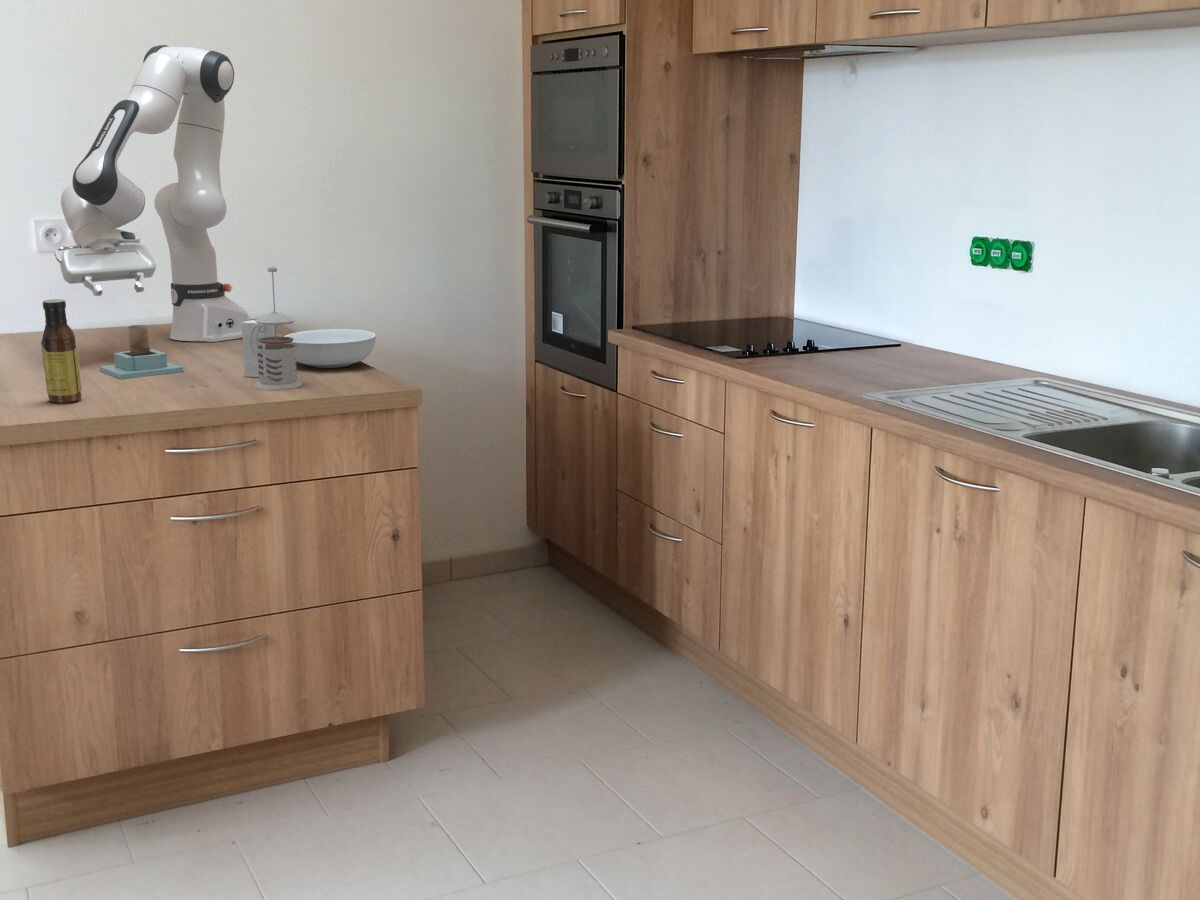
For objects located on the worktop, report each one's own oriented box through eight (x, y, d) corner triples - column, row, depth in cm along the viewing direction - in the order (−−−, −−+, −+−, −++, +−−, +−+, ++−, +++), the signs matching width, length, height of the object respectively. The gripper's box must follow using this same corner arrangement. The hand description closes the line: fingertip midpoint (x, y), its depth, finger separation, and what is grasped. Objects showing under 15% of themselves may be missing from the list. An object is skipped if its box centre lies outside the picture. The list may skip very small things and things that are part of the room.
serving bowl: (333, 353, 297) (332, 325, 295) (395, 363, 285) (394, 334, 283) (264, 365, 280) (263, 336, 279) (328, 376, 269) (326, 345, 267)
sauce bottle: (63, 396, 244) (53, 297, 240) (89, 398, 243) (80, 298, 238) (39, 403, 238) (29, 301, 233) (66, 405, 237) (57, 302, 232)
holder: (160, 363, 280) (159, 346, 279) (183, 371, 272) (182, 353, 271) (99, 370, 271) (97, 353, 270) (120, 379, 262) (119, 360, 261)
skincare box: (278, 375, 269) (276, 321, 266) (267, 378, 265) (264, 323, 262) (255, 373, 271) (252, 319, 268) (243, 376, 267) (240, 322, 264)
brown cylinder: (146, 364, 274) (143, 324, 272) (153, 367, 271) (150, 326, 269) (128, 366, 271) (125, 326, 269) (136, 369, 268) (132, 328, 266)
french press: (277, 391, 253) (271, 269, 246) (238, 384, 259) (231, 265, 252) (311, 383, 261) (306, 265, 255) (273, 377, 267) (267, 262, 261)
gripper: (54, 238, 270) (75, 287, 265) (145, 233, 283) (166, 279, 278) (49, 257, 274) (70, 305, 269) (139, 251, 287) (160, 297, 283)
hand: (119, 292), depth 274 cm, fingers open, 8 cm apart
